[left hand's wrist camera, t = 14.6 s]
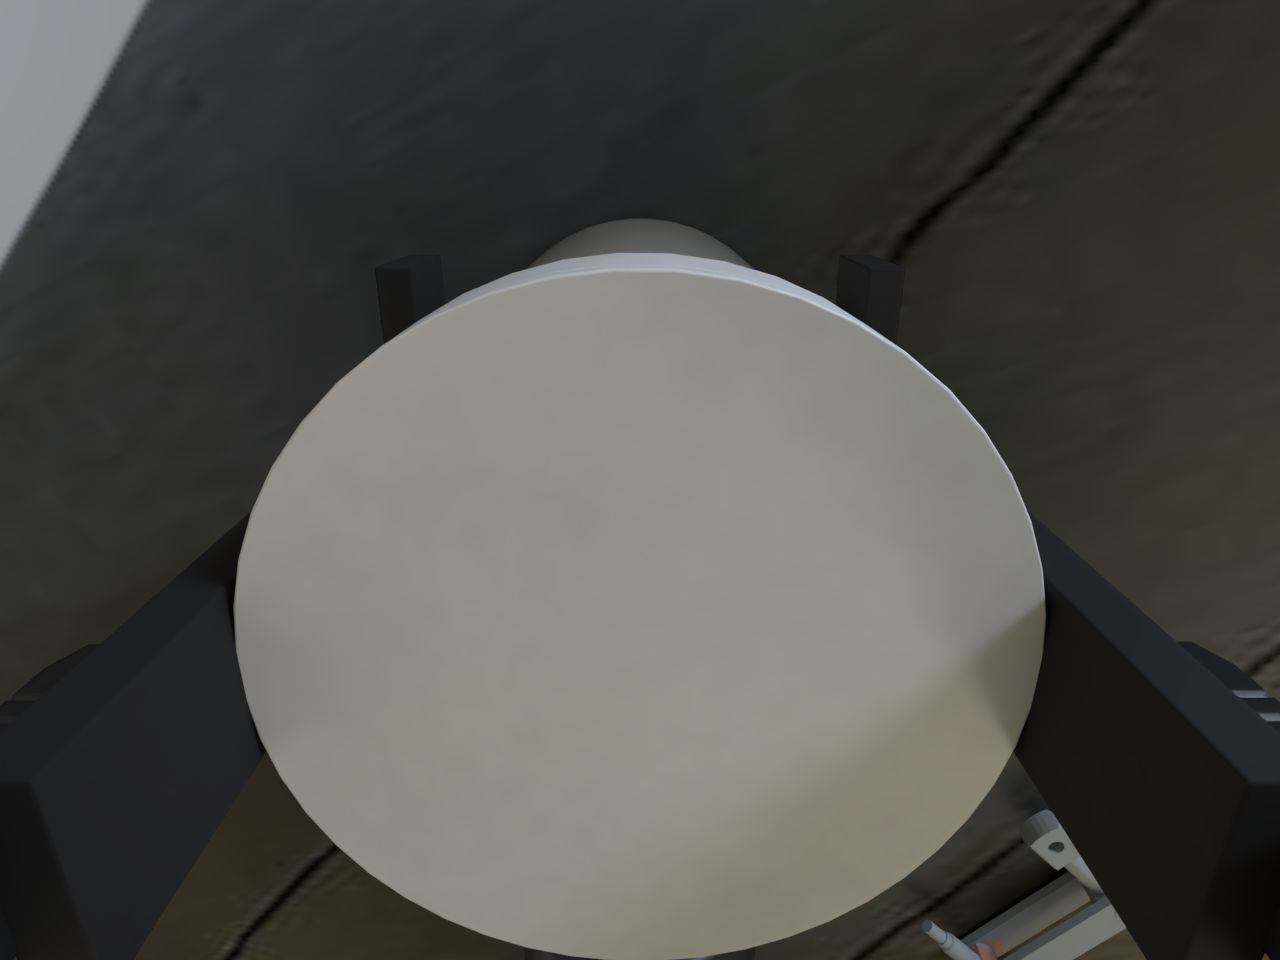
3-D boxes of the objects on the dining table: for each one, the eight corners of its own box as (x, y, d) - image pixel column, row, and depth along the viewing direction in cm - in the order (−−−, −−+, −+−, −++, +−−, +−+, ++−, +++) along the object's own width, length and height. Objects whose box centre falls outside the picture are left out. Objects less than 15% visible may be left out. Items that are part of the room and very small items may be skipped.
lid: (360, 881, 14) (323, 975, 12) (209, 275, 10) (127, 295, 9) (955, 856, 14) (997, 949, 12) (1034, 228, 10) (1111, 240, 8)
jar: (509, 517, 28) (353, 929, 13) (472, 227, 24) (194, 323, 9) (786, 503, 28) (963, 906, 13) (791, 209, 24) (1046, 277, 9)
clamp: (1145, 786, 29) (1282, 922, 32) (1112, 745, 31) (1243, 876, 34) (835, 987, 33) (979, 1094, 36) (824, 940, 35) (961, 1043, 38)
